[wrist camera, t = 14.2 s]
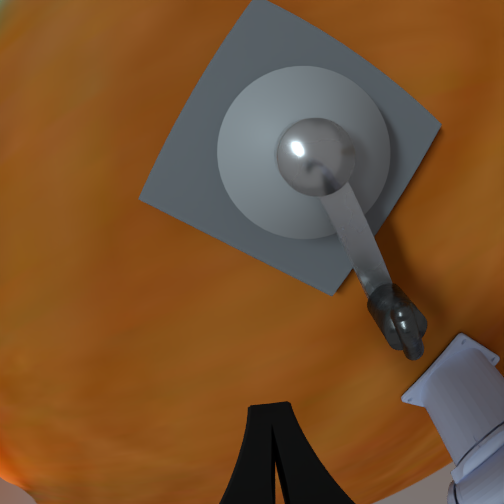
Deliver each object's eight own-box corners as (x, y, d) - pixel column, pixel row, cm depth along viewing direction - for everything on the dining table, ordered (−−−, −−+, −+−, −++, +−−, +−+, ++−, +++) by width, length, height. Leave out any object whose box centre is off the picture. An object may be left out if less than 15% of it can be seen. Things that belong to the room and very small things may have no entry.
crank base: (434, 123, 15) (458, 126, 13) (328, 289, 19) (339, 311, 17) (254, 1, 12) (258, -17, 10) (142, 195, 16) (128, 207, 14)
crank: (259, 140, 13) (270, 149, 9) (324, 105, 12) (362, 99, 8) (362, 327, 17) (390, 379, 13) (410, 298, 16) (447, 344, 12)
